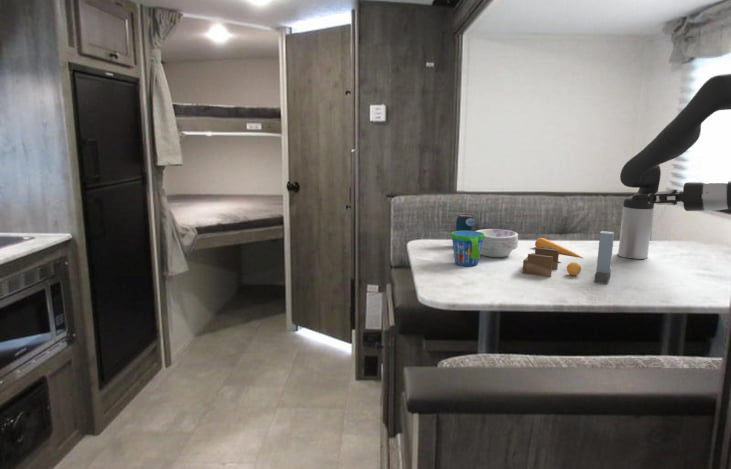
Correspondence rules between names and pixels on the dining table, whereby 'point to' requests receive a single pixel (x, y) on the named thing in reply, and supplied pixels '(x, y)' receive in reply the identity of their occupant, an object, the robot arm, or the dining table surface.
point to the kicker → (604, 257)
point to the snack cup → (467, 247)
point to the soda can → (465, 222)
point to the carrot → (554, 247)
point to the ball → (573, 268)
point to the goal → (541, 262)
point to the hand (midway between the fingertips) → (636, 198)
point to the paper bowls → (498, 242)
